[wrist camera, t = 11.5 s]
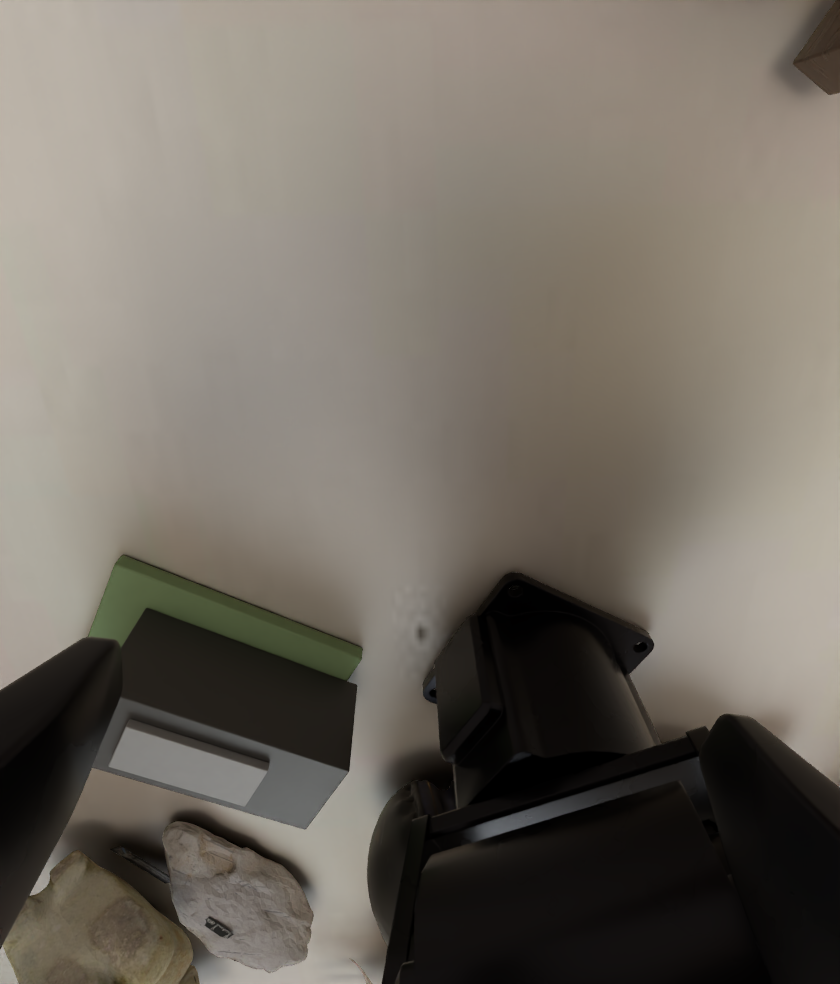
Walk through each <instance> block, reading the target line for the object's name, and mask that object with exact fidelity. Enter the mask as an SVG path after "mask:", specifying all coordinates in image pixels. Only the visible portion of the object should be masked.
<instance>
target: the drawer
mask: <svg viewBox="0 0 840 984" xmlns="http://www.w3.org/2000/svg"><path fill="white" fill-rule="evenodd" d="M793 65H794V66H795V67H797V68H798V69H799V70H800V71H801V72H802V73H804V74H805V75H806V76H807V77H808V78H809V79H811V80H812V81H813V82H814V83H815V84H816V85H818V86H819V87H820V88H821V89H822V90H823V91H825V92H826V93H827V94H828V95H832V94H836V93H840V0H836V1H835V2H834V4H833V5H832V7H831V8H830V10H829V11H828V12H827V14H826V15H825V17H824V18H823V20H822V21H821V23H820V24H819V25H818V27H817V28H816V30H815V31H814V33H813V34H812V36H811V37H810V38H809V40H808V41H807V43H806V44H805V46H804V47H803V49H802V50H801V51H800V53H799V54H798V56H797V57H796V59H795V60H794V62H793Z"/></svg>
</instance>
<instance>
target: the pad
mask: <svg viewBox="0 0 840 984" xmlns="http://www.w3.org/2000/svg"><path fill="white" fill-rule="evenodd" d="M146 608H149V609H152V610H155V611H158V612H160V613H163V614H166V615H168V616H171V617H174V618H177V619H179V620H182V621H185V622H187V623H190V624H193V625H196V626H198V627H201V628H204V629H206V630H209V631H212V632H215V633H217V634H220V635H223V636H225V637H228V638H231V639H234V640H236V641H239V642H242V643H244V644H247V645H250V646H253V647H255V648H258V649H261V650H263V651H266V652H269V653H272V654H274V655H277V656H280V657H282V658H285V659H288V660H291V661H293V662H296V663H299V664H301V665H304V666H307V667H310V668H312V669H315V670H318V671H320V672H323V673H326V674H328V675H331V676H334V677H337V678H339V679H342V680H345V681H347V680H348V679H349V677H350V676H351V674H352V673H353V671H354V670H355V668H356V667H357V665H358V664H359V662H360V661H361V659H362V650H363V649H362V648H360V647H358V646H355V645H353V644H350V643H348V642H345V641H342V640H340V639H337V638H335V637H332V636H330V635H327V634H324V633H322V632H319V631H317V630H314V629H312V628H309V627H306V626H304V625H301V624H299V623H296V622H294V621H291V620H289V619H286V618H283V617H281V616H278V615H276V614H273V613H271V612H268V611H265V610H263V609H260V608H258V607H255V606H253V605H250V604H247V603H245V602H242V601H240V600H237V599H235V598H232V597H229V596H227V595H224V594H222V593H219V592H217V591H214V590H211V589H209V588H206V587H204V586H201V585H199V584H196V583H194V582H191V581H188V580H186V579H183V578H181V577H178V576H176V575H173V574H170V573H168V572H165V571H163V570H160V569H158V568H155V567H152V566H150V565H147V564H145V563H142V562H140V561H137V560H134V559H132V558H129V557H127V556H124V555H122V556H121V557H120V558H119V560H118V561H117V562H116V563H115V565H114V568H113V570H112V573H111V576H110V579H109V581H108V584H107V587H106V589H105V592H104V595H103V597H102V600H101V603H100V606H99V608H98V611H97V614H96V616H95V619H94V622H93V624H92V627H91V630H90V633H89V635H88V637H90V636H92V637H101V638H109V639H115V640H117V641H118V642H119V644H120V647H122V645H123V644H124V642H125V640H126V639H127V637H128V636H129V634H130V632H131V631H132V629H133V628H134V626H135V624H136V623H137V621H138V620H139V618H140V616H141V615H142V613H143V612H144V610H145V609H146Z"/></svg>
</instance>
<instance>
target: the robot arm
mask: <svg viewBox="0 0 840 984" xmlns="http://www.w3.org/2000/svg"><path fill="white" fill-rule="evenodd" d="M514 585H519V586H520V587H519V588H518V589H515V590H511V589H509V588H510V587H512V586H514ZM639 642H641V643H640V644H637V643H639ZM635 644H637V645H635ZM653 648H654V643H653V641H652V639H651V637H650V635H649V633H648V632H646V631H645V630H643V629H641V628H638V627H636V626H634V625H632V624H630V623H628V622H625V621H623V620H621V619H619V618H617V617H615V616H612V615H610V614H608V613H606V612H604V611H602V610H599V609H597V608H595V607H593V606H591V605H589V604H586V603H584V602H582V601H580V600H578V599H576V598H573V597H571V596H569V595H567V594H565V593H563V592H560V591H558V590H556V589H554V588H552V587H550V586H547V585H545V584H543V583H541V582H539V581H537V580H534V579H532V578H530V577H528V576H526V575H524V574H521V573H517V572H514V573H509V574H507V575H505V576H504V577H503V578H502V579H501V580H500V581H499V583H498V584H497V585H496V587H495V588H494V589H493V591H492V592H491V593H490V595H489V596H488V597H487V599H486V600H485V601H484V603H483V604H482V605H481V607H480V608H479V609H478V610H477V612H476V613H475V614H473V615H471V616H469V617H468V618H467V619H466V620H465V621H464V623H463V624H462V625H461V627H460V628H459V629H458V631H457V632H456V633H455V635H454V636H453V637H452V639H451V640H450V641H449V643H448V644H447V645H446V647H445V648H444V649H443V651H442V652H441V653H440V655H439V656H438V657H437V659H436V660H435V663H434V664H435V667H434V669H433V670H432V671H431V673H430V674H429V675H428V676H427V678H426V679H425V680H424V682H423V696H424V697H425V699H426V700H428V701H430V702H432V703H435V704H437V709H438V724H439V740H440V752H441V755H442V757H443V760H444V761H446V762H449V763H452V764H453V776H454V788H455V799H456V809H455V810H452V811H448V812H445V813H442V814H439V815H436V816H432V815H431V814H428V815H425V816H422V817H418V818H415V819H413V820H412V822H411V828H410V833H409V838H408V844H407V849H406V854H405V859H404V865H403V870H402V875H401V880H400V886H399V891H398V896H397V901H396V907H395V912H394V917H393V923H392V928H391V933H390V938H389V944H388V949H387V955H386V963H385V969H384V974H383V980H382V984H840V788H839V787H838V786H837V785H835V784H834V783H833V782H832V781H830V780H829V779H828V778H827V777H826V776H824V775H823V774H822V773H821V772H819V771H818V770H817V769H816V768H814V767H813V766H812V765H811V764H809V763H808V762H807V761H806V760H804V759H803V758H802V757H801V756H799V755H798V754H797V753H796V752H794V751H793V750H792V749H791V748H789V747H788V746H787V745H786V744H784V743H783V742H782V741H781V740H780V739H778V738H777V737H776V736H775V735H773V734H772V733H771V732H770V731H768V730H767V729H766V728H765V727H763V726H762V725H761V724H760V723H758V722H757V721H756V720H754V719H753V718H751V717H748V716H744V715H736V714H723V715H721V716H720V717H719V718H718V719H717V721H716V722H715V724H714V725H713V727H712V729H711V730H710V732H709V730H708V729H707V727H706V726H703V727H700V728H697V729H694V730H691V731H688V732H686V735H687V736H684V737H681V738H678V739H675V740H672V741H668V742H665V743H662V744H661V741H660V739H659V737H658V735H657V733H656V731H655V729H654V727H653V724H652V722H651V720H650V718H649V716H648V714H647V712H646V710H645V707H644V705H643V703H642V701H641V699H640V697H639V695H638V693H637V690H636V688H635V686H634V684H633V682H632V680H631V678H630V676H629V674H630V673H631V672H632V671H633V670H634V669H635V668H636V667H637V666H638V665H639V664H640V663H641V662H642V661H643V660H644V659H645V658H646V657H647V656H648V655H649V653H650V652H651V651H652V650H653ZM122 688H123V672H122V658H121V647H120V644H119V642H118V641H117V640H115V639H109V638H101V637H92V636H90V637H86V638H83V639H81V640H79V641H78V642H76V643H74V644H73V645H71V646H70V647H68V648H67V649H65V650H63V651H62V652H60V653H59V654H57V655H55V656H54V657H52V658H51V659H49V660H47V661H46V662H44V663H43V664H41V665H40V666H38V667H36V668H35V669H33V670H32V671H30V672H28V673H27V674H25V675H24V676H22V677H20V678H19V679H17V680H16V681H14V682H13V683H11V684H9V685H8V686H6V687H5V688H3V689H1V690H0V949H1V947H2V945H3V943H4V942H5V940H6V938H7V936H8V934H9V932H10V930H11V928H12V926H13V925H14V923H15V921H16V919H17V917H18V915H19V913H20V911H21V910H22V908H23V906H24V904H25V902H26V900H27V898H28V896H29V895H30V893H31V891H32V889H33V887H34V885H35V883H36V881H37V880H38V878H39V876H40V874H41V872H42V870H43V868H44V866H45V865H46V863H47V861H48V859H49V857H50V855H51V853H52V851H53V850H54V848H55V846H56V844H57V842H58V840H59V838H60V836H61V835H62V833H63V831H64V829H65V827H66V825H67V823H68V821H69V819H70V817H71V815H72V813H73V811H74V809H75V807H76V804H77V802H78V800H79V797H80V795H81V793H82V790H83V788H84V785H85V783H86V780H87V778H88V776H89V773H90V771H91V768H92V766H93V763H94V761H95V758H96V756H97V753H98V751H99V749H100V746H101V744H102V741H103V739H104V736H105V734H106V731H107V729H108V726H109V724H110V722H111V719H112V717H113V714H114V712H115V709H116V707H117V704H118V702H119V699H120V696H121V693H122ZM435 688H436V690H433V689H435Z"/></svg>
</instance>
